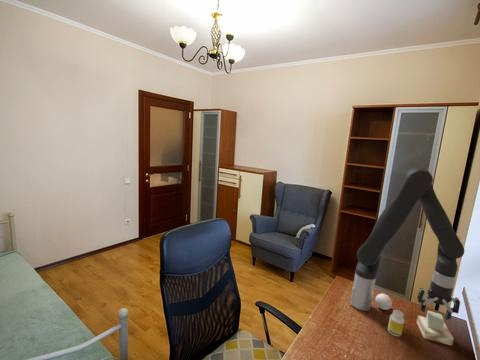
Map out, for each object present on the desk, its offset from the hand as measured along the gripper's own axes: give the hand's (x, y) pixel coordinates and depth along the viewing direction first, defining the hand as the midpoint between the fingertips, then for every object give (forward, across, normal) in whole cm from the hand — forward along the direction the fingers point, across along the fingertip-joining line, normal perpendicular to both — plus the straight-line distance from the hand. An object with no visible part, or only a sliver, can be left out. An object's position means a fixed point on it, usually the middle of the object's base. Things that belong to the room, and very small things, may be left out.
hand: (434, 314), depth 109 cm
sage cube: (+5, 0, 0) cm, 5 cm away
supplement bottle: (+9, -15, -9) cm, 20 cm away
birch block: (+9, +1, -1) cm, 9 cm away
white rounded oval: (+9, -19, +5) cm, 21 cm away
